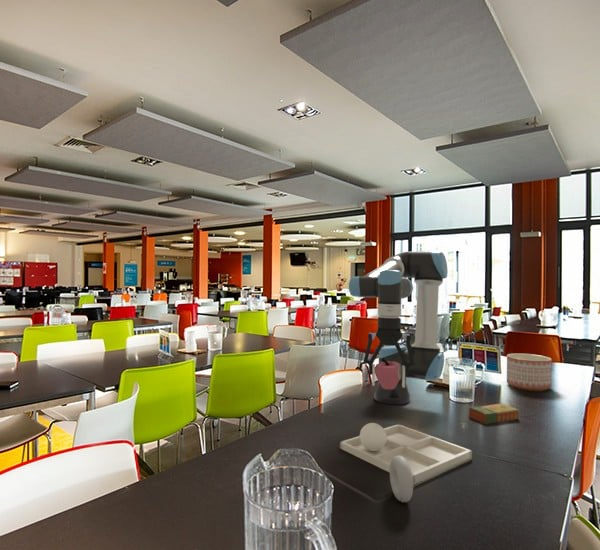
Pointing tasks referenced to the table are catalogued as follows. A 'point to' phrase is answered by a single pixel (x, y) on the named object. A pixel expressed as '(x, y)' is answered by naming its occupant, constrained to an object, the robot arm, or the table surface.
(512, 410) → the carton
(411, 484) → the white thick disc
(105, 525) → the table surface
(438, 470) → the tray
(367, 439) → the white ball
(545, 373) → the planter
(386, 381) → the apple
